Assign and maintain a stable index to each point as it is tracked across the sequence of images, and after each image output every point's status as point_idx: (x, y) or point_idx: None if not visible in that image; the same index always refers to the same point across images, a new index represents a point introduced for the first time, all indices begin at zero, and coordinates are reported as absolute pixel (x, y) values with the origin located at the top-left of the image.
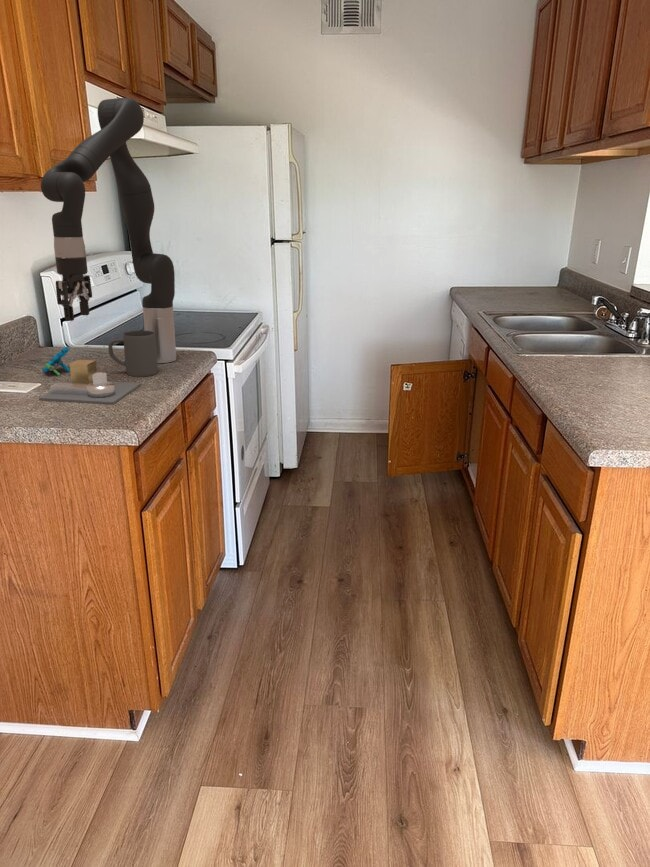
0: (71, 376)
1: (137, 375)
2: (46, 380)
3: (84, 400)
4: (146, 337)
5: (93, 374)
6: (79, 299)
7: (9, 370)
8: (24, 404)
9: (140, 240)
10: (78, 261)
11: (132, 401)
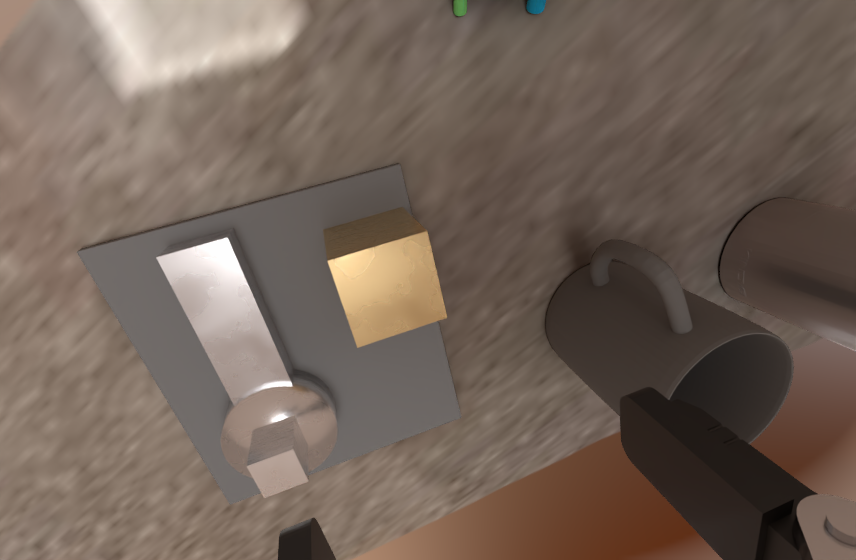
0: (325, 242)
1: (547, 336)
2: (358, 12)
3: (182, 424)
4: None
5: (256, 464)
6: (803, 536)
7: None
8: None
9: None
10: None
11: (293, 511)
